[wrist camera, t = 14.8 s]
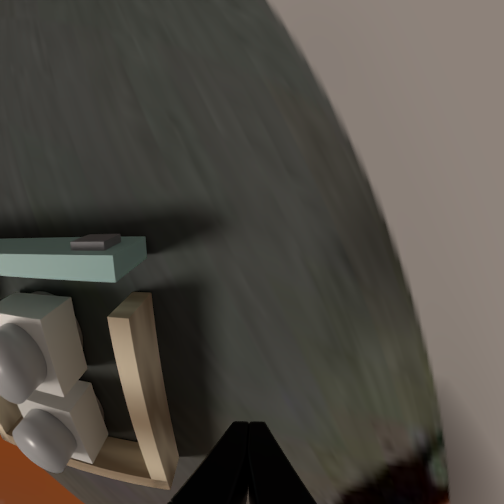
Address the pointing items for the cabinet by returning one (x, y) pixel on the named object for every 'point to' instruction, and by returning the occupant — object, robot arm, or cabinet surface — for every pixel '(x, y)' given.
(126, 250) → the panel
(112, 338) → the housing
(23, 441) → the jaw
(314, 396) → the cabinet surface
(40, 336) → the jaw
